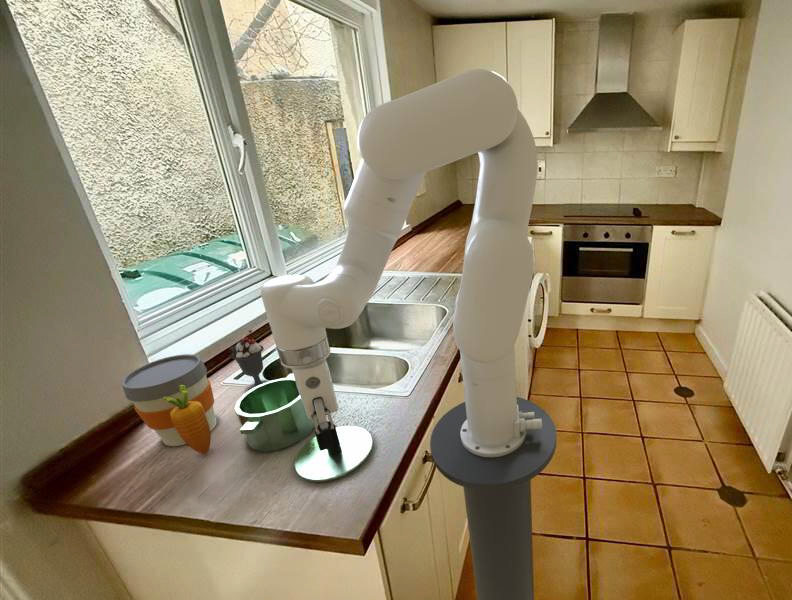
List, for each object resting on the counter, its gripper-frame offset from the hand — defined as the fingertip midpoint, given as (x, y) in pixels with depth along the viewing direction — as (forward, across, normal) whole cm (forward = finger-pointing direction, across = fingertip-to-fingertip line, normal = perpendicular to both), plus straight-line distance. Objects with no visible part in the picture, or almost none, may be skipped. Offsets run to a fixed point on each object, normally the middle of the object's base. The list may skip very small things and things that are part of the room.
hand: (325, 430), depth 72 cm
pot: (+6, +14, +8) cm, 17 cm away
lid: (+5, 0, -1) cm, 5 cm away
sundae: (+7, +34, +12) cm, 37 cm away
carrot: (+7, +14, +21) cm, 26 cm away
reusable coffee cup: (+7, +24, +24) cm, 35 cm away
